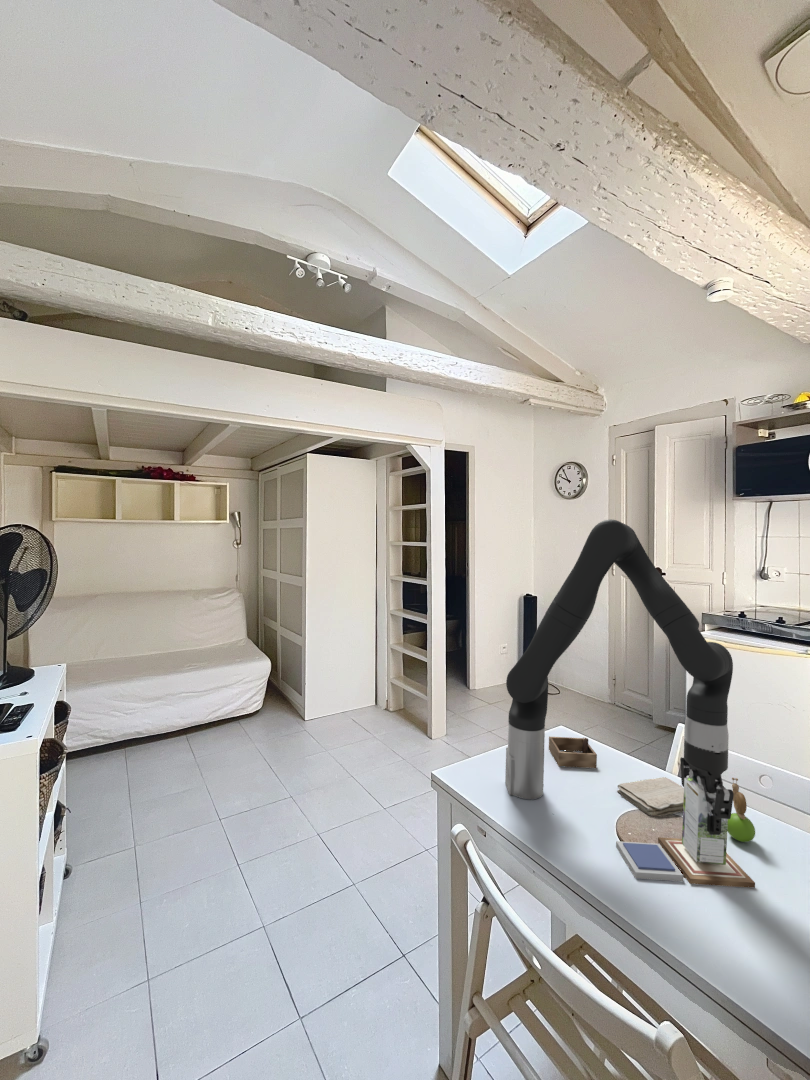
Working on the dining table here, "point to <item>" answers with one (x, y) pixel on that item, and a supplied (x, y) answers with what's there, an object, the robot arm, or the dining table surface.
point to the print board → (705, 867)
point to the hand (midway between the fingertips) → (703, 822)
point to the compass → (584, 747)
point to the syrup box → (701, 827)
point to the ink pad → (648, 861)
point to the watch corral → (570, 757)
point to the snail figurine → (740, 818)
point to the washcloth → (654, 795)
